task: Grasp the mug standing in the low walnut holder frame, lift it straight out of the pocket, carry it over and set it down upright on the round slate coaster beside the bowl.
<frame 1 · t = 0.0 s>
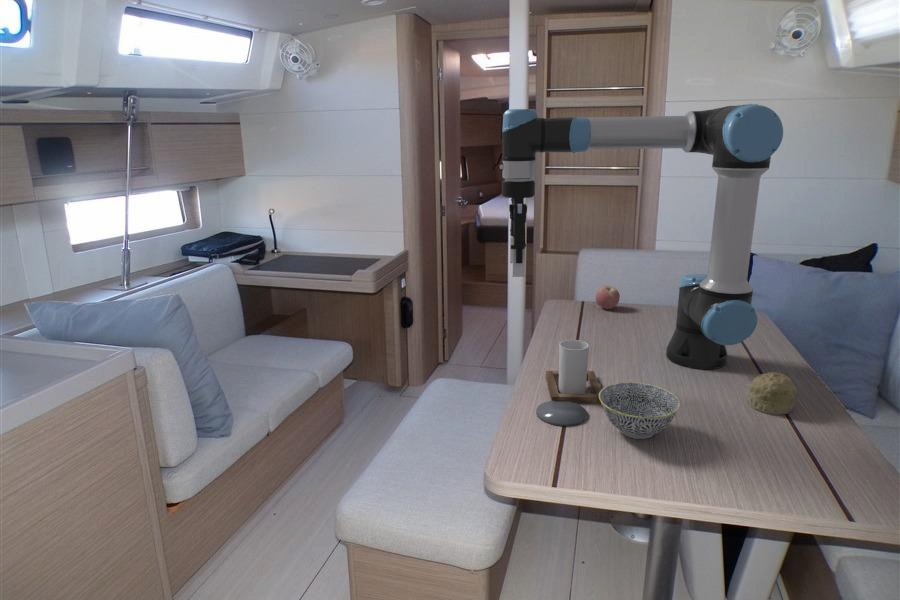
hand: (516, 269, 143), 28 cm above the table, fingers open, 13 cm apart
decorative object: (769, 407, 134), on the table
bowl: (636, 431, 124), on the table
coaster: (561, 413, 132), on the table
apple: (606, 309, 205), on the table
holder: (573, 389, 144), on the table
mug: (573, 389, 144), resting in holder
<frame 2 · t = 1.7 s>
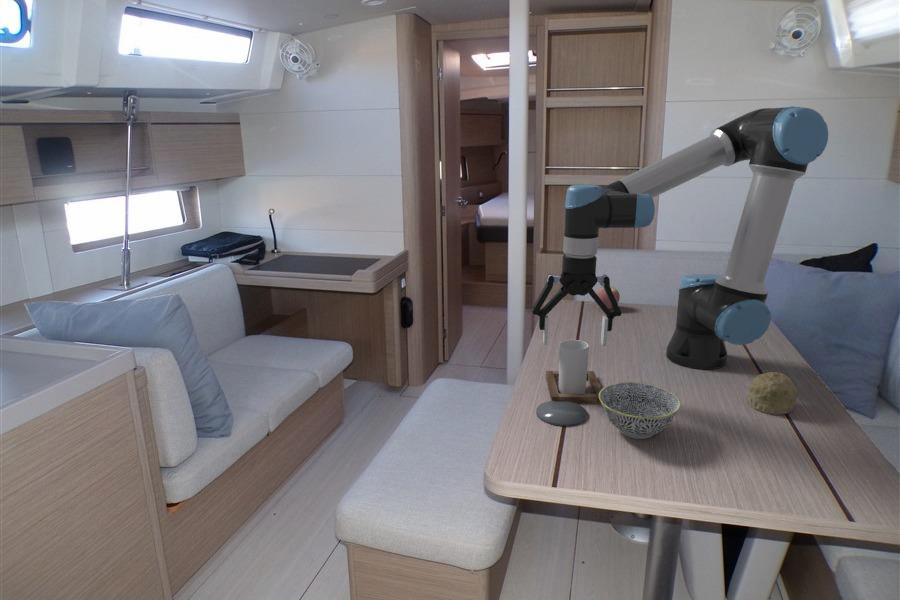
hand: (574, 343, 141), 12 cm above the table, fingers open, 13 cm apart
nothing on the table moved.
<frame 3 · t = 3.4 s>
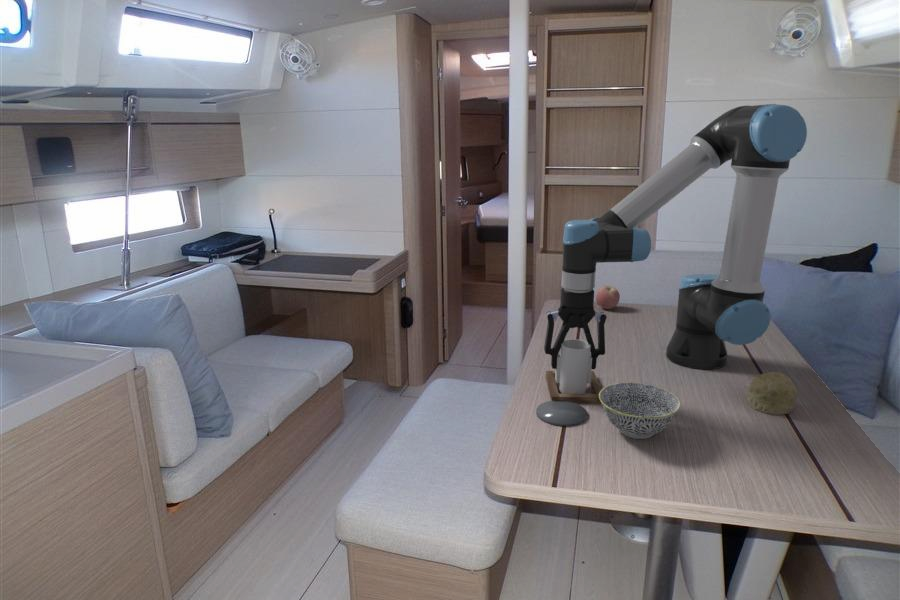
hand: (572, 380, 144), 2 cm above the table, fingers closed on mug, 7 cm apart
mug: (573, 389, 144), resting in holder, touching gripper
everything else where it was.
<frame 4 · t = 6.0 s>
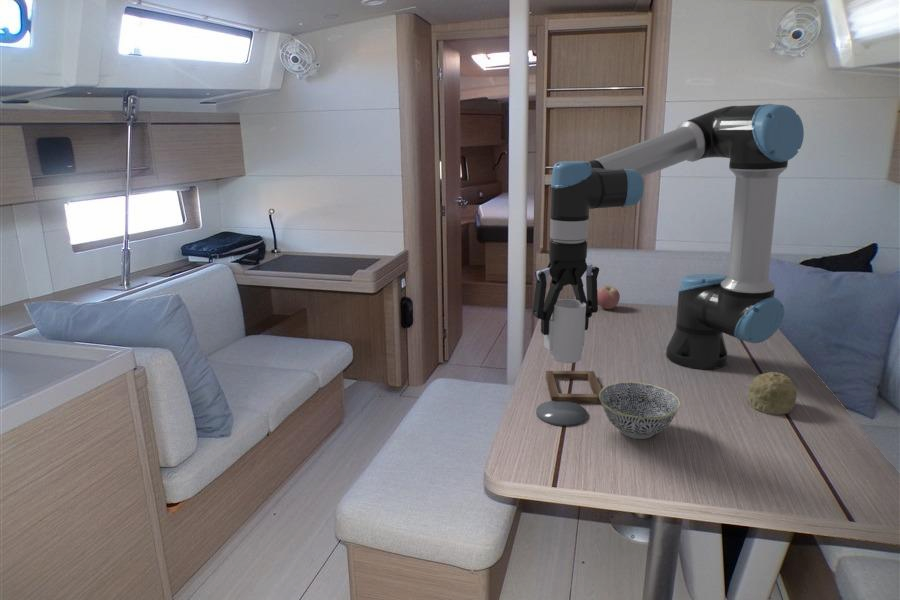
hand: (563, 346, 127), 16 cm above the table, fingers closed on mug, 7 cm apart
mug: (565, 355, 128), point 14 cm above the table, touching gripper
everything else where it was.
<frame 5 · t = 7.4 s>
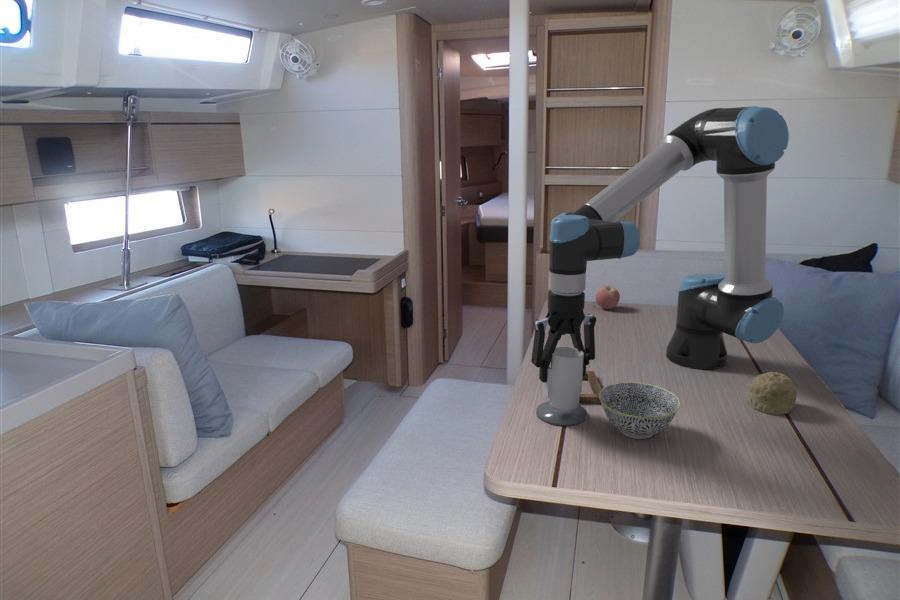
hand: (561, 392, 130), 5 cm above the table, fingers closed on mug, 7 cm apart
mug: (563, 401, 131), point 3 cm above the table, touching gripper
everything else where it was.
when the fingers open (4 cm above the table, at t = 8.4 s): mug drops 1 cm, resting on coaster.
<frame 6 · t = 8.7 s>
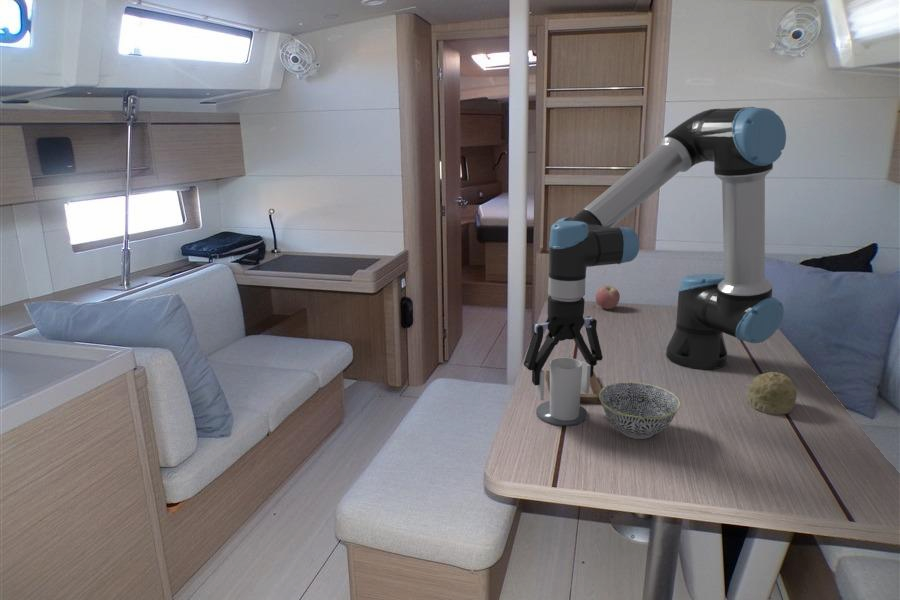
hand: (562, 394, 131), 5 cm above the table, fingers open, 10 cm apart
mug: (563, 411, 132), resting on coaster
everything else where it was.
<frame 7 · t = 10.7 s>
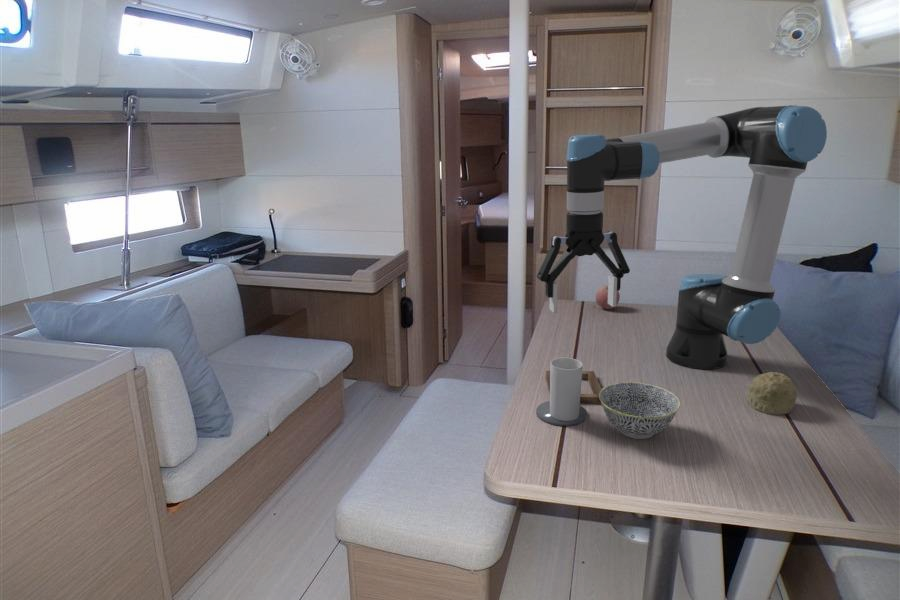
hand: (582, 308, 131), 22 cm above the table, fingers open, 13 cm apart
nothing on the table moved.
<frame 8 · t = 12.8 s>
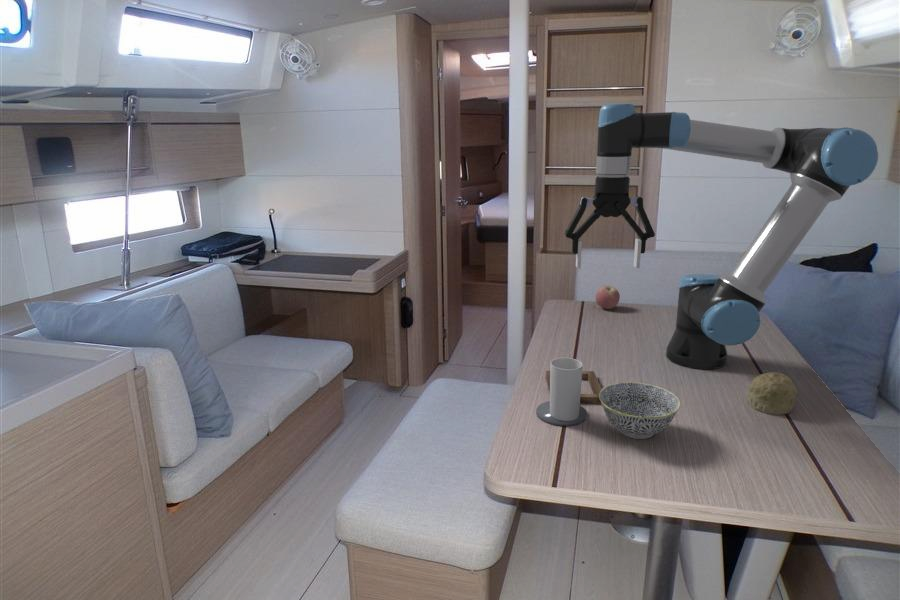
hand: (607, 267, 141), 29 cm above the table, fingers open, 13 cm apart
nothing on the table moved.
at the end: mug 0.5 cm from the coaster (horizontally); mug tilted 0°; the gripper is holding nothing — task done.
